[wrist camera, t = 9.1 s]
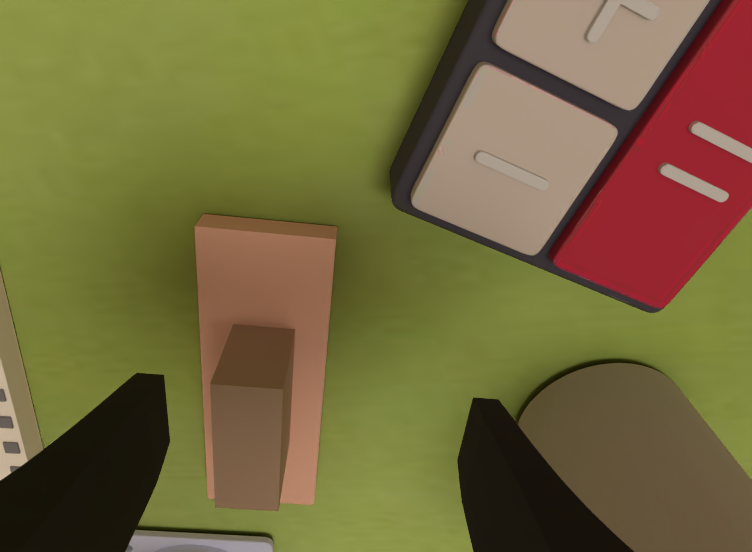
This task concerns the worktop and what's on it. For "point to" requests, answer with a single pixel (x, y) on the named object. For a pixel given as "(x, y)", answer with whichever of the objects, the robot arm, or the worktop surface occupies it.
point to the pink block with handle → (263, 356)
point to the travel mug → (642, 460)
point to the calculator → (589, 138)
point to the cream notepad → (14, 399)
